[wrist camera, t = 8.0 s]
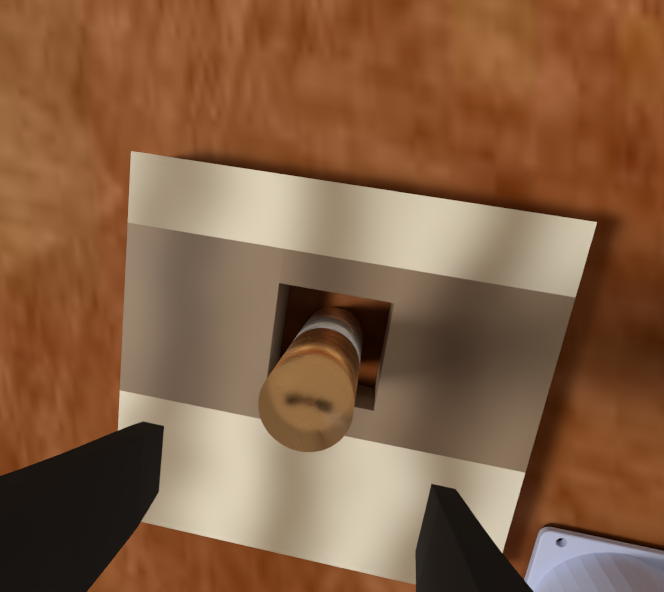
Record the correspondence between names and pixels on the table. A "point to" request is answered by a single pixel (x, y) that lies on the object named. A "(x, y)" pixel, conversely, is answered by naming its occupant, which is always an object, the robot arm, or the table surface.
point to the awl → (314, 383)
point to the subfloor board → (370, 403)
